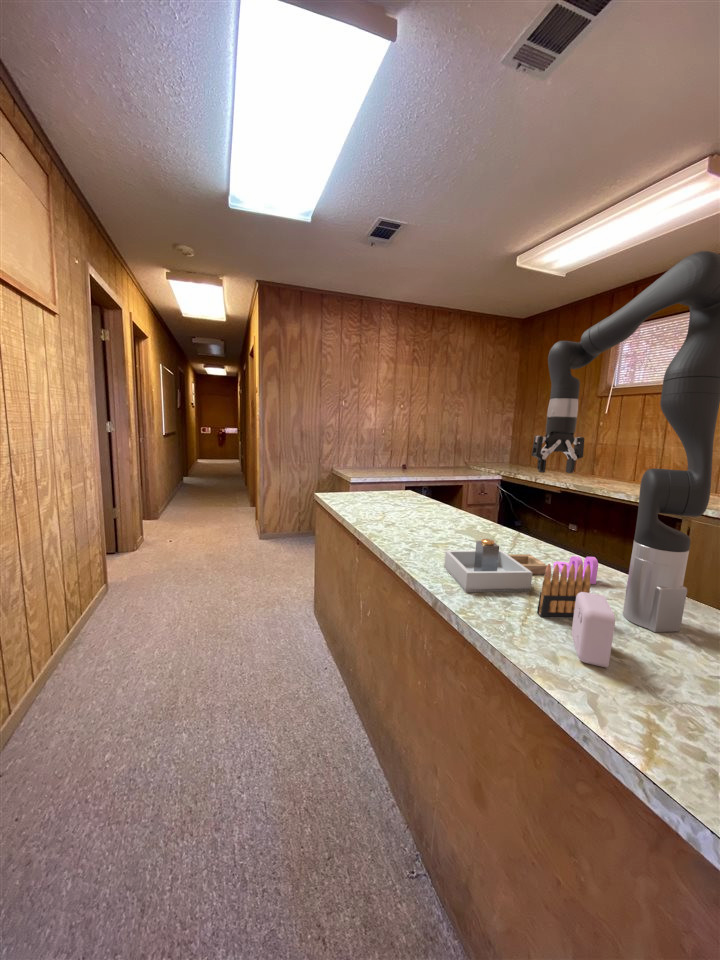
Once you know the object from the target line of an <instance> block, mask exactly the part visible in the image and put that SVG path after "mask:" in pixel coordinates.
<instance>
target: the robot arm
mask: <svg viewBox="0 0 720 960" xmlns="http://www.w3.org/2000/svg"><path fill="white" fill-rule="evenodd" d="M677 304H679V305H683V306H687V307H688V308H689V322H688V328H687V333H686V336H685V339H684V342H683V343H682V345H681V347H680V348H679V350H678V351H677V352H676V354H675V355H674V357H673V358H672V359H671V361H670V363H669V364H668V366H667V368H666V370H665V372H664V376H663V379H662V380H663V381H662V385H661V386H662V387H661V395H660V403H659V405H660V410H661V412H662V414H663V415H664V417H665V419H666V420H667V422H668V424H669V425H670V427H671V428H672V430H674V432H675V434H676V435H677V437H678V438H679V441H680V442H681V444H682V446H683V449H684V452H685V456H686V460H687V470H682V469H681V470H680V469H667V468H649V469H647V470H646V471H645V472H644V473H643V475H642V477H641V480H640V486H639V497H638V509H637V515H636V525H635V533H634V536H633V537H634V539H633V544H632V552H631V557H630V562H629V569H628V577H627V583H626V590H625V595H624V603H623V609H622V615H623V617H624V618H626V620H628V621H629V622H631V623H633V624H635V625H637V626H640V627H642V628H645V629H648V630H650V631H651V632H654V633H663V632H664V633H665V632H680V631H681V626H682V622H683V615H684V610H685V605H686V599H687V594H688V588H687V587H686V586H684V581H685V577H686V576H685V575H686V572H687V571H686V569H687V564H688V559H689V553H690V548H691V543H692V542H691V537H690V536H689V535H688V534H687V533H684V532H683V531H680V530H677V529H676V528H674V527H671V526H669V525H666V524H665V523H664V522H662V521H661V520H660V519H659V514H665V515H672V516H673V515H674V516H683V517H690V518H691V517H692V518H698V517H701V516H702V515H704V513H705V512H706V510H707V508H708V505H709V501H710V498H711V497H710V496H711V491H712V490H711V488H712V487H711V486H712V474H713V473H712V472H713V452H714V439H715V434H716V433H715V432H716V426H717V420H718V415H719V414H718V413H719V408H720V253H717V252H714V251H709V250H702V251H698V252H697V251H696V252H694V253H692V254H690V255H688V256H686V257H685V258H683V259H682V260H680V261H678V263H676V264H674V265H673V266H671V268H669V269H668V270H667V271H665V272H664V273H663V274H662V275H661V276H660V277H659V278H657V279H656V280H655V281H653V283H651V284H650V285H649V286H647V287H646V288H645V289H644V290H642V291H641V292H639V294H637V295H636V296H635V297H634V298H633V299H631V300H629V302H627V303H626V304H625V305H624V306H622V307H621V308H620V309H618V310H616V311H614V312H613V313H612V314H611V315H609V316H607V317H605V318H604V319H602V320H600V321H598V322H597V323H596V324H593V325H592V326H590V327H589V328H588V329H586V330H584V332H583V333H582V335H581V337H580V341H578V342H577V341H571V340H559V341H557V342H555V343H554V344H553V345H552V347H551V348H550V350H549V353H548V357H547V364H548V365H547V366H548V372H549V377H550V382H551V388H550V396H549V403H548V407H547V413H546V425H545V435H544V436H543V435H535V436H534V438H533V444H532V450H531V456H532V457H534V458H537V467H536V468H537V471H538V472H539V473H541V474H543V473H546V466H547V458H548V456H549V455H550V454H552V453H554V452H555V453H557V452H562V453H563V454H565V456H566V457H567V459H566V466H565V472H566V473H567V474H573V473H574V472H575V467H576V461H577V460H578V459H583V458H584V450H585V449H584V448H585V438H584V436H574V434H575V432H576V429H577V420H578V412H579V397H580V396H579V395H580V388H581V387H580V386H581V381H580V379H578V378H577V377H575V376H573V375H572V371H571V370H578V369H582V368H583V367H586V366H588V365H589V364H590V363H591V362H593V361H594V360H595V359H596V358H598V357H599V356H600V354H602V353H604V352H606V351H607V350H609V349H612V348H614V347H615V346H617V345H619V344H621V343H622V342H624V341H626V340H627V339H629V338H630V337H631V336H632V335H634V333H635V332H636V331H638V329H639V328H640V326H641V325H642V324H644V322H645V321H646V320H648V318H649V317H652V316H653V315H654V314H656V313H658V312H660V311H663V310H664V309H667V308H668V307H669V308H670V307H672V306H675V305H677ZM544 443H545V445H544V446H543V444H544ZM573 445H574V446H573Z"/></svg>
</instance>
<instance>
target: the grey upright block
mask: <svg viewBox="0 0 720 960" xmlns="http://www.w3.org/2000/svg"><path fill="white" fill-rule="evenodd" d="M474 551H475V562H474V571H497V566H498V556H499V551H500V546H499V545H498V544H497V543H496V542H495V540H494V539H489V538H482V539H481V540H476V542H475V550H474Z"/></svg>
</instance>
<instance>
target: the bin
mask: <svg viewBox="0 0 720 960" xmlns="http://www.w3.org/2000/svg"><path fill="white" fill-rule="evenodd" d="M475 551H476V550H445V552H444V567H443V568H445V569H444V570H446V571H447V572H448V573H449V575H450V577H452V579H454V581H455V582H456V583H457V584H458V586H459V587H460V588H461V589H462V590H463V591H464V593H503V592H505V593H506V592H507V593H508V592H512V593H513V592H517V593H518V592H531V589H532V579H533V574H532V573H533V572H531V571H530V570H528V569H527V568H526V567H524V566H523V565H521V564H520V563H519V562H517V561H516V560H514V559H513V558H512V557H510V556H509V555H507V553H506V552H504V551H503V550H499V556H498V566H497V571H474V562H475Z"/></svg>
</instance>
